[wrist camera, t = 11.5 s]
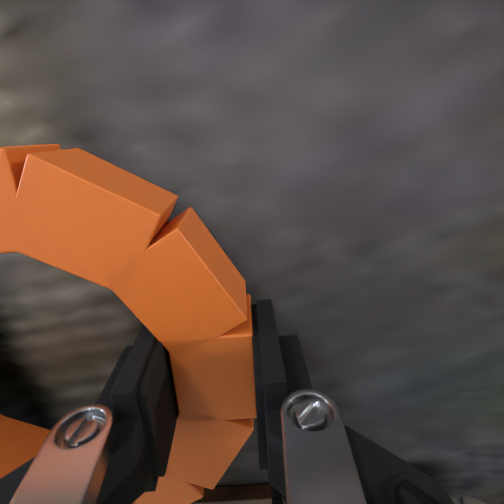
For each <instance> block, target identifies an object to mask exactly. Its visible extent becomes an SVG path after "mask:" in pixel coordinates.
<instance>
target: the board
mask: <svg viewBox="0 0 504 504" xmlns="http://www.w3.org/2000/svg"><path fill="white" fill-rule="evenodd" d="M190 504H272V493H271V484H261V485H245V486H229V487H215V488H214V489H213V490H211V489H208V488H204V495H203V497H202V498H201V499H199V500H197V501H195V502H192V503H190Z"/></svg>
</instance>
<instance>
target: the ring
mask: <svg viewBox="0 0 504 504" xmlns="http://www.w3.org/2000/svg"><path fill="white" fill-rule="evenodd" d="M177 199H178V196H177V195H175V194H173V193H171V192H169V191H167V190H165V189H163V188H161V187H159V186H156V185H154V184H152V183H150V182H148V181H146V180H144V179H142V178H140V177H138V176H136V175H134V174H132V173H129V172H127V171H125V170H123V169H121V168H119V167H117V166H115V165H113V164H111V163H109V162H107V161H105V160H102V159H100V158H98V157H96V156H94V155H92V154H90V153H88V152H86V151H84V150H82V149H80V148H73V149H64V150H61V147H60V145H59V144H42V145H23V146H4V147H0V253H12V252H20V253H22V254H25V255H27V256H30V257H32V258H34V259H37V260H39V261H42V262H44V263H47V264H49V265H52V266H54V267H57V268H59V269H62V270H64V271H67V272H69V273H72V274H74V275H77V276H79V277H81V278H84V279H86V280H89V281H91V282H94V283H96V284H99V285H101V286H104V287H106V288H109V289H111V290H113V291H114V293H115V294H116V295H117V296H118V297H119V298H120V299H121V300H122V301H123V302H124V303H125V305H126V306H127V307H128V308H129V309H130V310H131V311H132V312H133V313H134V314H135V315H136V317H137V318H138V319H139V320H140V321H141V322H142V323H143V324H144V325H145V326H146V328H147V329H148V330H149V331H150V332H151V333H152V334H153V335H154V336H155V337H156V338H157V340H158V341H159V342H162V344H163V346H164V347H165V348H166V349H167V350H168V352H169V357H170V363H171V369H172V375H173V380H174V386H175V392H176V398H177V404H178V412H177V416H176V422H177V423H176V427H175V432H174V437H173V441H172V446H171V451H170V455H169V460H168V465H167V469H166V473H165V476H164V477H159V478H158V482H157V487H156V491H154V492H144V493H143V494H142V495H141V496H140V497H139V498H138V499H137V500H135V502H136V503H135V504H190V503H192V502H195V501H197V500H199V499H201V498H202V497H203V495H204V487H205V488H208V489H211V490H213V489H214V488H215V486H216V485H217V483H218V482H219V480H220V479H221V477H222V476H223V475H224V473H225V472H226V470H227V469H228V467H229V466H230V464H231V463H232V461H233V460H234V458H235V457H236V455H237V454H238V453H239V451H240V450H241V448H242V447H243V445H244V444H245V442H246V441H247V439H248V438H249V436H250V435H251V433H252V432H253V430H254V421H253V418H257V414H256V397H255V380H254V363H253V346H252V336H253V324H252V309H251V296H250V294H246V282H245V280H244V278H243V277H242V276H241V274H240V273H239V272H238V270H237V269H236V267H235V266H234V265H233V263H232V262H231V261H230V259H229V258H228V256H227V255H226V254H225V252H224V251H223V250H222V248H221V247H220V246H219V244H218V243H217V241H216V240H215V239H214V237H213V236H212V235H211V233H210V232H209V230H208V229H207V228H206V226H205V225H204V224H203V222H202V221H201V219H200V218H199V217H198V215H197V214H196V213H195V211H194V210H193V208H192V207H189V208H188V209H186V210H185V211H183V212H182V213H180V214H179V215H177V216H176V217H174V218H173V219H171V220H170V221H168V219H169V217H170V215H171V213H172V210H173V208H174V206H175V203H176V201H177ZM49 432H50V430H48V429H45V428H42V427H38V426H35V425H32V424H29V423H25V422H22V421H19V420H16V419H12V418H9V417H6V416H3V415H2V414H0V479H1V478H2V477H4V476H5V475H7V474H8V473H10V472H12V471H13V470H15V469H16V468H18V467H20V466H21V465H23V464H24V463H26V462H27V461H29V460H31V459H32V458H34V457H35V456H36V455H37V453H38V451H39V449H40V448H41V446H42V444H43V442H44V441H45V439H46V437H47V435H48V433H49Z"/></svg>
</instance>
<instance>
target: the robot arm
mask: <svg viewBox="0 0 504 504" xmlns="http://www.w3.org/2000/svg"><path fill="white" fill-rule="evenodd" d="M251 309H252V324H253V336H252V346H253V363H254V380H255V397H256V414H257V430H258V447H259V463H260V470H262V469H267V470H268V482H269V483H270V484H271V485H272V486H273V487H274V488H275V489H276V490H278V491H279V492H280V493H281V494H282V495H283V504H491V503H488V502H485V501H482V500H479V499H476V498H474V497H471V496H468V495H465V494H462V496H461V499H459V498H456V497H454V496H451V495H449V494H448V493H447V492H446V490H445V489H444V488H443V487H442V486H441V485H440V484H439V483H438V482H436V481H435V480H434V479H432V478H431V477H430V476H428V475H427V474H425V473H423V472H422V471H420V470H418V469H417V468H415V467H414V466H412V465H410V464H409V463H407V462H405V461H404V460H402V459H400V458H399V457H397V456H395V455H394V454H392V453H390V452H389V451H387V450H385V449H384V448H382V447H380V446H379V445H377V444H375V443H374V442H372V441H370V440H369V439H367V438H365V437H364V436H362V435H360V434H359V433H357V432H355V431H354V430H352V429H350V428H349V427H347V426H345V425H344V423H343V420H342V416H341V413H340V410H339V408H338V406H337V404H336V403H335V402H334V400H333V399H332V398H331V397H329V396H328V395H326V394H324V393H322V392H319V391H316V390H313V389H312V385H311V382H310V378H309V375H308V371H307V368H306V364H305V361H304V357H303V354H302V350H301V347H300V343H299V340H298V337H297V335H290V336H278V333H277V328H276V322H275V317H274V312H273V307H272V301H271V299H269V300H256V304H254V305H251ZM177 412H178V404H177V398H176V392H175V386H174V380H173V375H172V369H171V363H170V357H169V352H168V350H167V349H166V348H165V347H164V346H163V344H162V342H159V341H158V340H157V338H156V337H155V336H154V335H153V334H152V333H151V332H150V331H149V330H148V329H147V328H146V326H145V325H143V327H142V329H141V331H140V333H139V335H138V337H137V339H136V341H135V343H134V345H133V346H127V347H126V348H125V349H124V351H123V353H122V355H121V357H120V359H119V360H118V362H117V364H116V366H115V368H114V370H113V372H112V374H111V376H110V378H109V380H108V381H107V383H106V385H105V387H104V389H103V391H102V393H101V395H100V397H99V399H98V400H97V402H96V404H89V405H84V406H81V407H79V408H76V409H74V410H72V411H70V412H69V413H67V414H66V415H64V416H63V417H62V418H61V419H60V420H58V421H57V422H56V423H55V425H54V426H53V427H52V429H51V430H50V432H49V433H48V435H47V437H46V439H45V441H44V442H43V444H42V446H41V448H40V449H39V451H38V453H37V455H36V456H35V457H34V458H32V459H31V460H29V461H27V462H26V463H24V464H23V465H21V466H20V467H18V468H16V469H15V470H13V471H12V472H10V473H8V474H7V475H5V476H4V477H2V478H1V479H0V504H135V503H136V502H135V500H137V499H138V498H139V497H140V496H141V495H142V494H143V493H144V492H154V491H156V487H157V482H158V478H159V477H164V476H165V473H166V469H167V465H168V460H169V455H170V451H171V446H172V441H173V437H174V432H175V427H176V423H177V422H176V416H177Z"/></svg>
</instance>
